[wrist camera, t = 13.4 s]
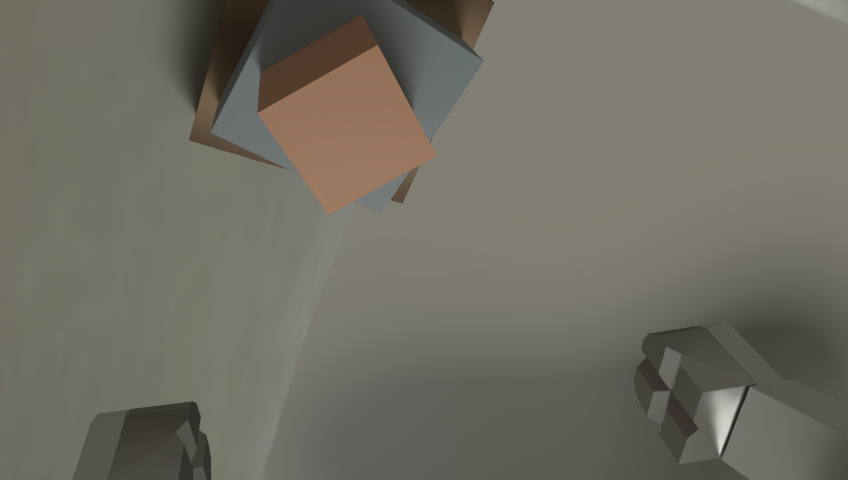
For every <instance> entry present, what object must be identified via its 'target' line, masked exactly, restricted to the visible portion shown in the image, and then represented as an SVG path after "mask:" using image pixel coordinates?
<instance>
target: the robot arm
mask: <svg viewBox="0 0 848 480" xmlns="http://www.w3.org/2000/svg"><path fill="white" fill-rule="evenodd" d="M641 350H642V352H643V353H644V354H645V356H646V358H645V359H644V360H643V361H642V362H641V363H640V364H639V365H638V366H637V369H636V374H635V379H634V383H635V389H636V395H637V398H638V400H639V403H640V405H641V407H642V408H643V410H644V412H645V413H646V415H647V416H648V417H650V418H651V419H653V420H655V421H657V422H658V423H660V424H661V428H660V436H661V438H662V439H663V441H664V442H665V444H666V445H667V447H668V448H669V450H670V451H671V453H672V454H673V456H674V457H675V459H676V460H677V462H678V463H679V464H682V463H689V462H695V461H701V460H708V459H714V458H721V457H722V460H723V461H724V462H726V463H727V464H729V465H730V466H731V467H733V468H734V469H736V470H737V471H738V472H740V473H741V474H743V475H744V476H746V477H747V478H748V479H750V480H848V405H845V404H843V403H841V402H839V401H837V400H835V399H832V398H830V397H828V396H826V395H824V394H821V393H819V392H817V391H815V390H813V389H811V388H808V387H806V386H804V385H802V384H800V383H797V382H795V381H793V380H785V381H783V380H782V379H781V378H780V376H779V375H777V373H775V371H774V370H773V369H772V368H771V367H770V366H769V365H768V364H767V363H766V362H765V361H764V360H763V359H762V358H761V357H760V356H759V355H758V354H757V353H756V352H755V351H754V350H753V348H752V347H750V345H748V343H747V342H746V341H745V340H744V339H743V338H742V337H741V336H740V335H739V334H738V333H737V332H736V331H735V330H734V329H733V328H732V327H731V326H730V325H728V324H726V323H724V322H718V323H712V324H705V325H699V326H697V327H695V326H693V327H687V328H681V329H675V330H668V331H662V332H655V333H649V334H648V335H647V336H646V337H645V339H644V341H643V344H642V348H641ZM200 420H201V415H200V412H199V409H198V406H197V403H195V402H193V401H192V402H183V403H175V404H167V405H159V406H151V407H143V408H135V409H131V410H125V411H116V412H108V413H100V414H98V415H97V416H96V417H95V418H94V420H93V421H92V422H91V425H90V428H89V431H88V434H87V437H86V440H85V443H84V446H83V449H82V452H81V455H80V459H79V462H78V465H77V468H76V471H75V474H74V477H73V480H211V455H210V448H209V443H208V440H207V436H206V434H204V433H202V432H201V431H199V428H200Z"/></svg>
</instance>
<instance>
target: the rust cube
mask: <svg viewBox="0 0 848 480" xmlns="http://www.w3.org/2000/svg"><path fill="white" fill-rule="evenodd" d="M257 114H258V115H259V117H260V118H261V119H262V121H263V122H264V124H265V125H266V126H267V128H268V129H269V131H270V132H271V134H272V135H273V136H274V138H275V139H276V141H277V142H278V144H279V145H280V146H281V148H282V149H283V151H284V152H285V153H286V155H287V156H288V158H289V159H290V161H291V162H292V163H293V165H294V166H295V168H296V169H297V171H298V172H299V173H300V175H301V176H302V178H303V179H304V180H305V182H306V183H307V185H308V186H309V188H310V189H311V190H312V192H313V193H314V195H315V196H316V198H317V199H318V200H319V202H320V203H321V205H322V206H323V207H324V209H325V210H326V212H327V213H328V215H329V214H331V213H333V212H335V211H336V210H338V209H340V208H342V207H344V206H346V205H347V204H349V203H351V202H353V201H355V200H357V199H358V198H360V197H362V196H364V195H366V194H368V193H370V192H371V191H373V190H375V189H377V188H379V187H381V186H382V185H384V184H386V183H388V182H390V181H392V180H393V179H395V178H397V177H399V176H401V175H403V174H404V173H406V172H408V171H410V170H412V169H414V168H415V167H417V166H419V165H421V164H423V163H425V162H426V161H428V160H430V159H432V158H434V157H436V153H435V152H434V150H433V148H432V146H431V144H430V142H429V140H428V138H427V136H426V134H425V133H424V131H423V129H422V127H421V125H420V123H419V121H418V119H417V117H416V116H415V114H414V112H413V110H412V108H411V106H410V104H409V102H408V100H407V99H406V97H405V95H404V93H403V91H402V89H401V87H400V85H399V84H398V82H397V80H396V78H395V76H394V74H393V72H392V70H391V69H390V67H389V65H388V63H387V61H386V59H385V57H384V55H383V54H382V52H381V50H380V48H379V46H378V44H377V42H376V40H375V39H374V37H373V35H372V33H371V31H370V29H369V27H368V25H367V24H366V22H365V20H364V18H363V16H362V14H361V15H360V16H358V17H356V18H354V19H353V20H351V21H349V22H347V23H346V24H344V25H342V26H340V27H339V28H337V29H335V30H333V31H332V32H330V33H328V34H326V35H325V36H323V37H321V38H319V39H318V40H316V41H314V42H312V43H311V44H309V45H307V46H305V47H304V48H302V49H300V50H298V51H297V52H295V53H293V54H291V55H290V56H288V57H286V58H284V59H283V60H281V61H279V62H277V63H276V64H274V65H272V66H270V67H269V68H267V69H265V70H263V71H262V72H260V82H259V95H258V109H257Z"/></svg>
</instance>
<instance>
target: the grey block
mask: <svg viewBox="0 0 848 480" xmlns="http://www.w3.org/2000/svg"><path fill="white" fill-rule="evenodd" d="M361 14H362V16H363V18H364V20H365V22H366V24H367V25H368V27H369V29H370V31H371V33H372V35H373V37H374V39H375V40H376V42H377V44H378V46H379V48H380V50H381V52H382V54H383V55H384V57H385V59H386V61H387V63H388V65H389V67H390V69H391V70H392V72H393V74H394V76H395V78H396V80H397V82H398V84H399V85H400V87H401V89H402V91H403V93H404V95H405V97H406V99H407V100H408V102H409V104H410V106H411V108H412V110H413V112H414V114H415V116H416V117H417V119H418V121H419V123H420V125H421V127H422V129H423V131H424V133H425V134H426V136H427V138H428V140H429V142H430V140H431V139H432V137H433V136H434V134H435V133H436V131H437V130H438V128H439V127H440V125H441V124H442V122H443V121H444V119H445V118H446V116H447V115H448V113H449V112H450V110H451V109H452V107H453V106H454V104H455V103H456V101H457V100H458V98H459V97H460V95H461V94H462V93H463V91H464V90H465V88H466V87H467V85H468V84H469V82H470V81H471V79H472V78H473V76H474V75H475V73H476V72H477V70H478V69H479V67H480V66H481V64H482V63H483V60H482V59H481V58H480V57H479V56H478V55H477V54H476V53H475V51H474V50H473V49H472V48H471V47H470V46H469V45H468V44H467V43H466V42H465V41H464V40H463V39H462V38H460V37H459V36H457V35H456V34H454V33H453V32H451V31H450V30H448V29H447V28H445V27H444V26H442V25H441V24H439V23H438V22H436V21H435V20H433V19H432V18H430V17H429V16H427V15H426V14H424V13H423V12H421V11H420V10H418V9H417V8H415V7H414V6H412V5H411V4H409V3H408V2H406V1H405V0H270V1H269V3H268V5H267V7H266V9H265V11H264V13H263V15H262V17H261V19H260V20H259V22H258V24H257V26H256V28H255V30H254V32H253V34H252V36H251V38H250V40H249V42H248V44H247V46H246V48H245V50H244V52H243V54H242V56H241V58H240V60H239V62H238V64H237V66H236V68H235V70H234V72H233V74H232V76H231V78H230V80H229V82H228V84H227V86H226V88H225V90H224V91H223V93H222V95H221V97H220V99H219V101H218V105H217V108H216V112H215V116H214V120H213V124H212V128H211V132H210V133H213V134H215V135H217V136H219V137H221V138H223V139H225V140H227V141H229V142H232V143H234V144H236V145H238V146H240V147H242V148H244V149H246V150H248V151H250V152H253V153H255V154H257V155H259V156H261V157H263V158H265V159H267V160H269V161H272V162H274V163H276V164H278V165H280V166H282V167H284V168H286V169H288V170H291V171H293V172H295V173H297V174H299V175H300V173H299V172H298V171H297V169H296V168H295V166H294V165H293V163H292V162H291V161H290V159H289V158H288V156H287V155H286V153H285V152H284V151H283V149H282V148H281V146H280V145H279V144H278V142H277V141H276V139H275V138H274V136H273V135H272V134H271V132H270V131H269V129H268V128H267V126H266V125H265V124H264V122H263V121H262V119H261V118H260V117H259V115H258V114H257V109H258V95H259V82H260V72H262V71H263V70H265V69H267V68H269V67H270V66H272V65H274V64H276V63H277V62H279V61H281V60H283V59H284V58H286V57H288V56H290V55H291V54H293V53H295V52H297V51H298V50H300V49H302V48H304V47H305V46H307V45H309V44H311V43H312V42H314V41H316V40H318V39H319V38H321V37H323V36H325V35H326V34H328V33H330V32H332V31H333V30H335V29H337V28H339V27H340V26H342V25H344V24H346V23H347V22H349V21H351V20H353V19H354V18H356V17H358V16H360V15H361ZM409 172H410V171H408V172H406V173H404V174H403V175H401V176H399V177H397V178H395V179H393V180H392V181H390V182H388V183H386V184H384V185H382V186H381V187H379V188H377V189H375V190H373V191H371V192H370V193H368V194H366V195H364V196H362V197H360V198H358V199H357V200H355V201H356V202H358V203H360V204H362V205H364V206H366V207H369V208H371V209H373V210H375V211H377V212H379V213H382V212H383V210H384V209H385V207H386V206H387V204H388V203H389V201H390V200H391V198H392V197H393V195H394V194H395V192H396V191H397V189H398V188H399V186H400V185H401V183H402V182H403V180H404V179H405V178H406V176H407V175H408V173H409Z"/></svg>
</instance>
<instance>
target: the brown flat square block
mask: <svg viewBox="0 0 848 480" xmlns="http://www.w3.org/2000/svg"><path fill="white" fill-rule="evenodd" d="M269 1H270V0H226V4H225V7H224V11H223V15H222V19H221V22H220V26H219V30H218V34H217V37H216V41H215V45H214V49H213V52H212V56H211V60H210V64H209V67H208V71H207V75H206V79H205V82H204V86H203V90H202V94H201V97H200V101H199V105H198V109H197V112H196V116H195V120H194V123H193V127H192V131H191V135H190V138H189V140H190V141H193V142H197V143H200V144H203V145H207V146H210V147H213V148H217V149H220V150H224V151H227V152H230V153H234V154H237V155H240V156H244V157H247V158H251V159H254V160H257V161H261V162H264V163H267V164H271V165H274V166H278V167H281V168H284V167H282V166H280V165H278V164H276V163H274V162H272V161H269V160H267V159H265V158H263V157H261V156H259V155H257V154H255V153H253V152H250V151H248V150H246V149H244V148H242V147H240V146H238V145H236V144H234V143H232V142H229V141H227V140H225V139H223V138H221V137H219V136H217V135H215V134H213V133H210V132H211V128H212V124H213V120H214V116H215V112H216V108H217V105H218V101H219V99H220V97H221V95H222V93H223V91H224V90H225V88H226V86H227V84H228V82H229V80H230V78H231V76H232V74H233V72H234V70H235V68H236V66H237V64H238V62H239V60H240V58H241V56H242V54H243V52H244V50H245V48H246V46H247V44H248V42H249V40H250V38H251V36H252V34H253V32H254V30H255V28H256V26H257V24H258V22H259V20H260V19H261V17H262V15H263V13H264V11H265V9H266V7H267V5H268V3H269ZM405 1H406V2H408V3H409V4H411V5H412V6H414V7H415V8H417V9H418V10H420V11H421V12H423V13H424V14H426V15H427V16H429V17H430V18H432V19H433V20H435V21H436V22H438V23H439V24H441V25H442V26H444V27H445V28H447V29H448V30H450V31H451V32H453V33H454V34H456V35H457V36H459V37H460V38H462V39H463V40H464V41H465V42H466V43H467V44H468V45H469V46H470V47H471V48H472V49H473V48H474V45H475V43H476V41H477V39H478V37H479V35H480V32H481V30H482V28H483V26H484V24H485V21H486V19H487V17H488V15H489V13H490V11H491V8H492V6H493V4H494V2H493V1H492V0H405ZM432 138H433V137H432ZM430 142H431V140H430ZM419 166H420V165H419ZM419 166H417V167H415V168H414V169H412V170H410V172H409V173H408V175H407V176H406V178H405V179H404V180H403V182H402V183H401V185H400V186H399V188H398V189H397V191H396V192H395V194H394V195H393V197H392V198H391V200H393V201H396V202H399V203H403V201H404V199H405V196H406V194H407V192H408V190H409V188H410V185H411V183H412V181H413V179H414V177H415V175H416V173H417V170H418V168H419ZM284 169H286V168H284Z"/></svg>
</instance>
